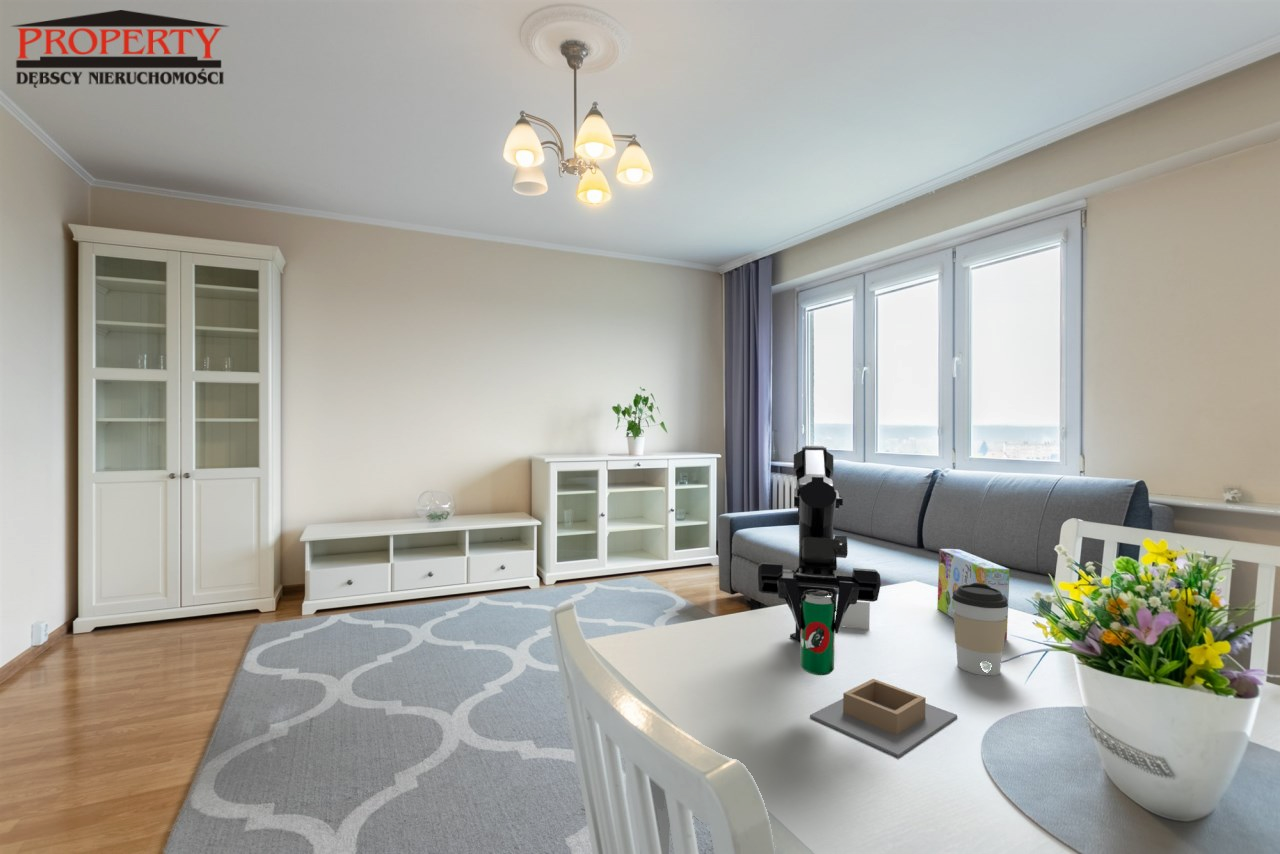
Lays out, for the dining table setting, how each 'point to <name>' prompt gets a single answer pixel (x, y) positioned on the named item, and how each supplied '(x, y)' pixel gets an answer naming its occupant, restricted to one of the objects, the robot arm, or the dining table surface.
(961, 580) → the snack box
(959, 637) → the coffee cup
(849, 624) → the white cube
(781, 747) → the dining table surface
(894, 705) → the can holder
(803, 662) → the soda can
